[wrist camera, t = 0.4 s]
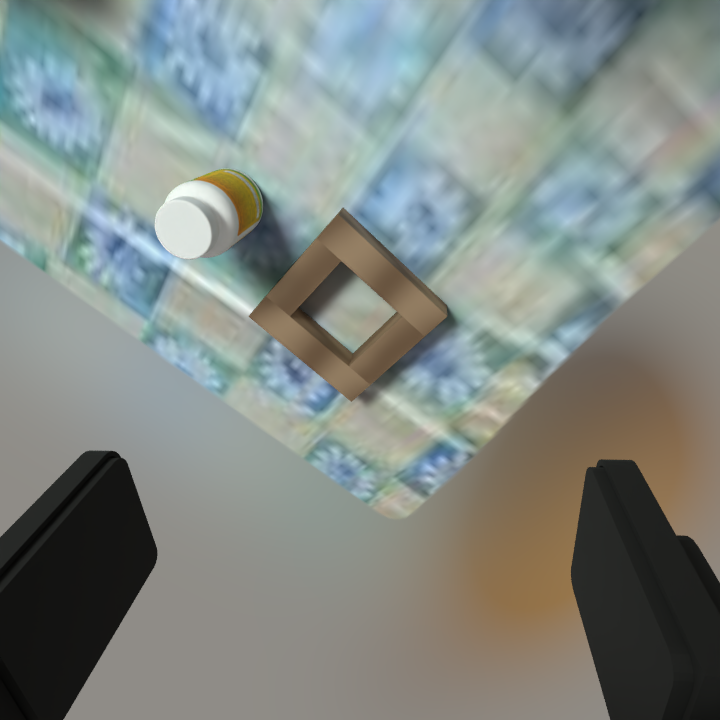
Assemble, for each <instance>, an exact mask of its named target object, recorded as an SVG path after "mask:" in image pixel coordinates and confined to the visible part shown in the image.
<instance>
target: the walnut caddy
mask: <svg viewBox="0 0 720 720" xmlns="http://www.w3.org/2000/svg"><path fill="white" fill-rule="evenodd" d="M341 261H342V262H343V263H344V264H345V265H346V266H348V267H349V268H350V269H351V270H352V271H353V272H354V273H355V274H356V275H357V276H359V277H360V278H361V279H362V280H363V281H364V282H365V283H366V284H367V285H368V286H370V287H371V288H372V289H373V290H374V291H375V292H376V293H377V294H378V295H379V296H381V297H382V298H383V299H384V300H385V301H386V302H387V303H388V304H389V305H390V306H392V307H393V308H394V309H395V310H396V311H397V312H396V313H395V314H394V315H393V316H392V317H391V318H390V319H389V320H388V321H387V322H386V323H385V324H384V325H383V326H382V327H381V328H379V329H378V330H377V331H376V332H375V333H374V334H373V335H372V336H371V337H370V338H369V339H368V340H367V341H366V342H365V343H364V344H363V345H362V346H361V347H359V348H358V349H357V350H356V351H355V352H354V353H353V354H352V353H351V352H350V351H349V350H348V349H347V348H345V347H344V346H343V345H342V344H341V343H340V342H338V341H337V340H336V339H335V338H334V337H333V336H331V335H330V334H329V333H328V332H327V331H326V330H324V329H323V328H322V327H321V326H320V325H319V324H317V323H316V322H315V321H314V320H313V319H312V318H310V317H309V316H308V315H307V314H306V313H305V312H304V311H302V310H301V309H300V308H299V306H300V305H301V304H302V303H303V302H304V301H305V300H306V299H307V298H308V296H309V295H310V294H311V293H312V292H313V291H314V290H315V289H316V288H317V287H318V286H319V285H320V284H321V282H322V281H323V280H324V279H325V278H326V277H327V276H328V275H329V274H330V273H331V272H332V271H333V269H334V268H335V267H336V266H337V265H338V264H339V263H340V262H341ZM249 317H250V318H251V319H252V320H253V321H255V322H256V323H257V324H258V325H259V326H261V327H262V328H263V329H264V330H265V331H267V332H268V333H269V334H270V335H271V336H273V337H274V338H275V339H276V340H278V341H279V342H280V343H281V344H282V345H284V346H285V347H286V348H287V349H288V350H290V351H291V352H292V353H293V354H294V355H296V356H297V357H298V358H299V359H300V360H302V361H303V362H304V363H305V364H306V365H308V366H309V367H310V368H311V369H313V370H314V371H315V372H316V373H317V374H319V375H320V376H321V377H322V378H323V379H325V380H326V381H327V382H328V383H329V384H331V385H332V386H333V387H334V388H335V389H337V390H338V391H339V392H340V393H342V394H343V395H344V396H345V397H346V398H348V399H349V400H350V401H351V402H352V401H353V400H354V399H355V398H356V397H357V396H359V395H360V394H361V393H362V392H363V391H364V390H365V389H366V388H368V387H369V386H370V385H371V384H372V383H373V382H374V381H375V380H377V379H378V378H379V377H380V376H381V375H382V374H383V373H384V372H386V371H387V370H388V369H389V368H390V367H391V366H392V365H393V364H394V363H396V362H397V361H398V360H399V359H400V358H401V357H402V356H403V355H405V354H406V353H407V352H408V351H409V350H410V349H411V348H412V347H414V346H415V345H416V344H417V343H418V342H419V341H420V340H421V339H423V338H424V337H425V336H426V335H427V334H428V333H429V332H430V331H432V330H433V329H434V328H435V327H436V326H437V325H438V324H439V323H441V322H442V321H443V320H444V319H445V318H446V317H447V305H446V304H445V303H444V302H443V301H442V300H441V299H440V298H439V297H437V296H436V295H435V294H434V293H433V292H432V291H431V290H430V289H429V288H428V287H427V286H426V285H425V284H424V283H423V282H422V281H421V280H419V279H418V278H417V277H416V276H415V275H414V274H413V273H412V272H411V271H410V270H409V269H408V268H407V267H406V266H405V265H404V264H402V263H401V262H400V261H399V260H398V259H397V258H396V257H395V256H394V255H393V254H392V253H391V252H390V251H389V250H388V249H387V248H385V247H384V246H383V245H382V244H381V243H380V242H379V241H378V240H377V239H376V238H375V237H374V236H373V235H372V234H371V233H370V232H369V231H367V230H366V229H365V228H364V227H363V226H362V225H361V224H360V223H359V222H358V221H357V220H356V219H355V218H354V217H353V216H352V215H350V214H349V213H348V212H347V211H346V210H345V209H344V208H342V209H341V210H340V212H339V213H338V214H337V215H336V216H335V217H334V218H333V220H332V221H331V222H330V223H329V224H328V225H327V226H326V228H325V229H324V230H323V231H322V232H321V233H320V235H319V236H318V237H317V238H316V239H315V240H314V241H313V243H312V244H311V245H310V246H309V247H308V248H307V249H306V251H305V252H304V253H303V254H302V255H301V256H300V257H299V259H298V260H297V261H296V262H295V263H294V264H293V265H292V267H291V268H290V269H289V270H288V271H287V272H286V273H285V275H284V276H283V277H282V278H281V279H280V280H279V281H278V283H277V284H276V285H275V286H274V287H273V288H272V290H271V291H270V292H269V293H268V294H267V295H266V296H265V298H264V299H263V300H262V301H261V302H260V303H259V304H258V306H257V307H256V308H255V309H254V310H253V312H252V313H251V314H250V315H249Z"/></svg>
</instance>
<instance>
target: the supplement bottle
mask: <svg viewBox="0 0 720 720" xmlns="http://www.w3.org/2000/svg"><path fill="white" fill-rule="evenodd" d="M262 213H263V199H262V195H261V193H260V190H259V188H258V187H257V185H256V184H255V183H254V181H253V180H252V179H251V178H250V177H249V176H247V175H246V174H244V173H243V172H240V171H238V170H235V169H228V168H225V169H219V170H216V171H213V172H211V173H208V174H206V175H203V176H201V177H198V178H196V179H193V180H190V181H187V182H185V183H183V184H181V185H179V186H177V187H176V188H174V189H173V190H172V191H171V192H170V194H169V195H168V197H167V198H166V201H165V204H164V205H162V206H161V208H160V209H159V210H158V212H157V214H156V218H155V230H156V234H157V236H158V239H159V241H160V242H161V244H162V245H163V246H164V248H165V249H166V250H167V251H169V252H170V253H171V254H173V255H175V256H177V257H179V258H182V259H196V258H199V257H204V258H207V257H214V256H217V255H220V254H222V253H224V252H225V251H227V250H228V249H229V248H231V247H232V246H233V245H234V244H236V243H237V242H238V241H239V240H241V239H242V238H243V237H245V236H246V235H247V234H248V233H250V232H251V231H252V230H253V229H254V228H255V227H256V226H257V225H258V223H259V222H260V219H261V217H262Z"/></svg>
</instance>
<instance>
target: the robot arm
mask: <svg viewBox="0 0 720 720" xmlns="http://www.w3.org/2000/svg"><path fill="white" fill-rule="evenodd" d="M156 560H157V547H156V544H155V541H154V539H153V536H152V533H151V530H150V527H149V524H148V521H147V518H146V516H145V513H144V510H143V507H142V504H141V501H140V498H139V496H138V492H137V490H136V487H135V484H134V481H133V478H132V475H131V472H130V470H129V467H128V464H127V462H126V460H125V459H123V458H121V457H120V455H119V454H118V453H117V452H115V451H87V452H85V453H83V454H82V455H81V456H80V457H79V458H78V459H77V460H76V461H75V462H74V463H73V464H72V465H71V466H70V467H69V468H68V469H67V470H66V471H65V472H64V473H63V474H62V475H61V476H60V477H59V478H58V479H57V480H56V481H55V482H54V483H53V484H52V485H51V486H50V487H49V488H48V489H47V490H46V491H45V492H44V494H43V495H42V496H41V497H40V498H39V499H38V500H37V501H36V502H35V503H34V504H33V505H32V506H31V507H30V508H29V509H28V510H27V511H26V512H25V513H24V514H23V515H22V516H21V517H20V518H19V519H18V520H17V521H16V522H15V523H14V524H13V525H12V526H11V527H10V528H9V529H8V530H7V531H6V532H5V533H4V534H3V535H2V536H1V537H0V720H63V719H64V718H65V716H66V714H67V713H68V711H69V709H70V708H71V706H72V704H73V703H74V701H75V699H76V697H77V695H78V694H79V692H80V691H81V689H82V687H83V686H84V684H85V682H86V680H87V679H88V677H89V676H90V674H91V672H92V670H93V669H94V667H95V665H96V664H97V662H98V660H99V659H100V657H101V655H102V654H103V652H104V650H105V649H106V647H107V645H108V643H109V642H110V640H111V639H112V637H113V635H114V634H115V632H116V630H117V628H118V627H119V625H120V623H121V622H122V620H123V618H124V616H125V615H126V613H127V611H128V610H129V608H130V607H131V605H132V603H133V602H134V600H135V598H136V596H137V595H138V593H139V591H140V590H141V588H142V586H143V585H144V583H145V581H146V579H147V578H148V576H149V574H150V573H151V571H152V569H153V568H154V566H155V564H156ZM571 578H572V579H571V580H572V586H573V590H574V594H575V597H576V601H577V604H578V608H579V611H580V615H581V618H582V622H583V625H584V629H585V632H586V636H587V639H588V643H589V646H590V650H591V653H592V657H593V660H594V664H595V667H596V671H597V674H598V678H599V681H600V684H601V688H602V692H603V695H604V699H605V702H606V706H607V709H608V713H609V716H610V720H720V583H719V581H718V579H717V578H716V576H715V574H714V572H713V571H712V569H711V567H710V566H709V564H708V562H707V561H706V559H705V557H704V556H703V554H702V552H701V551H700V549H699V547H698V546H697V545H696V543H695V542H694V540H692V539H691V538H690V537H688V536H676V534H675V533H674V531H673V529H672V527H671V526H670V524H669V522H668V520H667V518H666V517H665V515H664V513H663V511H662V509H661V507H660V506H659V504H658V502H657V500H656V499H655V497H654V495H653V493H652V491H651V490H650V488H649V486H648V484H647V482H646V481H645V479H644V477H643V475H642V473H641V472H640V470H639V468H638V466H637V465H636V463H635V462H634V461H632V460H599V461H598V463H597V466H596V467H589V468H588V469H587V471H586V476H585V482H584V489H583V496H582V502H581V508H580V515H579V521H578V529H577V534H576V541H575V547H574V554H573V561H572V566H571Z"/></svg>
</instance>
